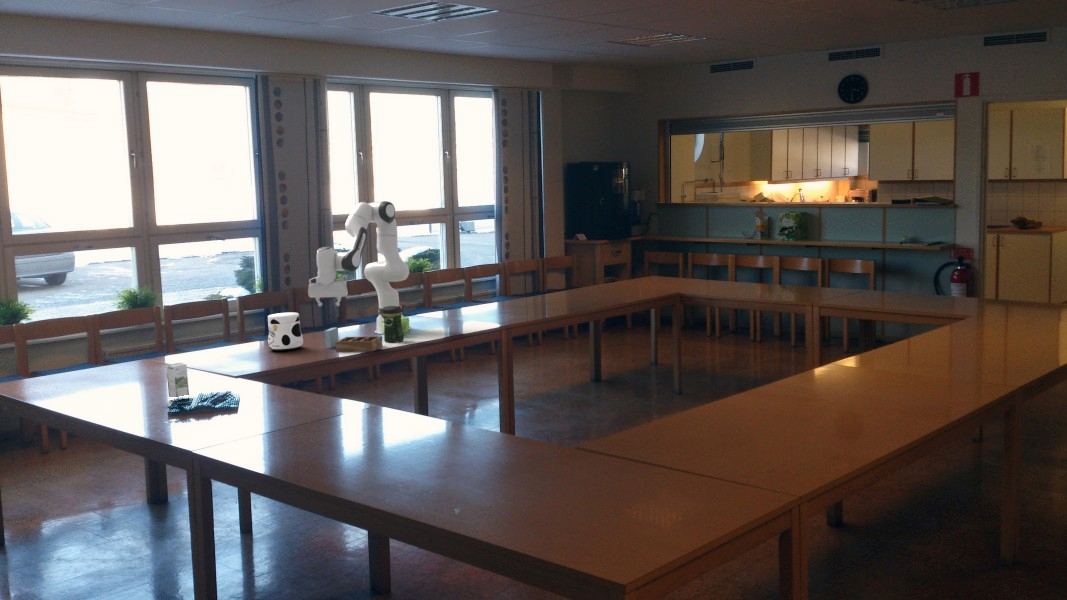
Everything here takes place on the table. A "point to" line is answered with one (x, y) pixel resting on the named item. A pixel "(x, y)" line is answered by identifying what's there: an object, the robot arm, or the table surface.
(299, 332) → the milk container
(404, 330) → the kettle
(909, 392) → the table surface
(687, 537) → the table surface
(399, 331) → the coffee jar
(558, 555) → the table surface
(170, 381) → the syrup box
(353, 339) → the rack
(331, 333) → the light blue thin block
